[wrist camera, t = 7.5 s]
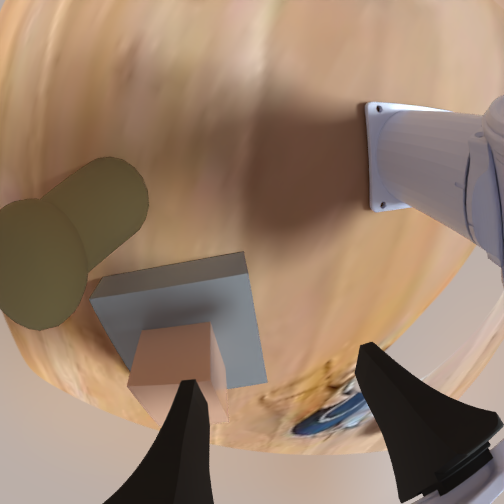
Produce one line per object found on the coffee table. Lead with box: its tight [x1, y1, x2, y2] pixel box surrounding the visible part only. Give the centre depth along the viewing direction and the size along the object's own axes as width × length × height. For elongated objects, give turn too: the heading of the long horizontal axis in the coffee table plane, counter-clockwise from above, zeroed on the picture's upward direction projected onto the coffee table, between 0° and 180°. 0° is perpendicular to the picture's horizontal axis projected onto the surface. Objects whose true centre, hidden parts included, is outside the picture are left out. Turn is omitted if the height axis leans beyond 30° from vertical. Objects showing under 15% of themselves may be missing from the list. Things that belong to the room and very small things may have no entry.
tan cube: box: [127, 322, 229, 426], centre depth 16 cm, size 5×5×5 cm
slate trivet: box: [89, 252, 267, 389], centre depth 20 cm, size 11×11×3 cm
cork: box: [0, 157, 149, 331], centre depth 11 cm, size 6×6×11 cm
